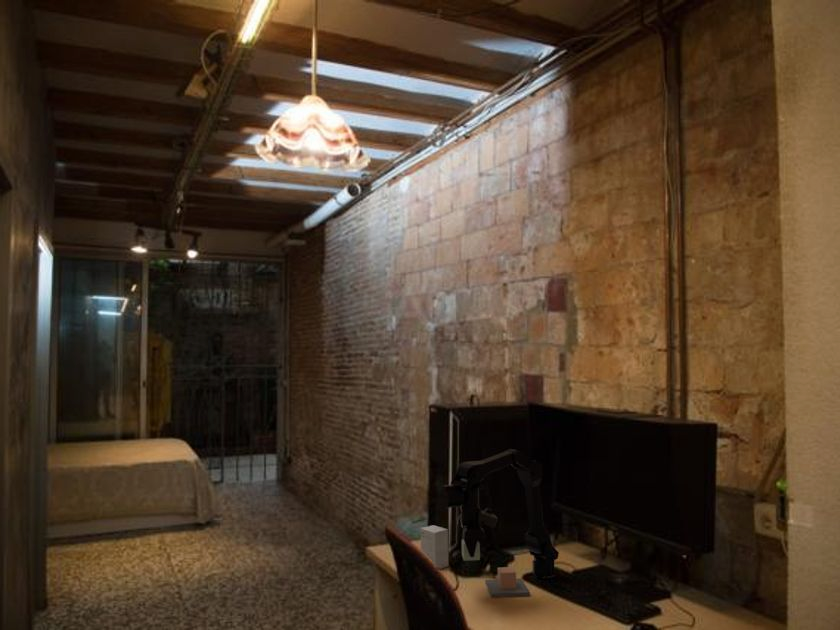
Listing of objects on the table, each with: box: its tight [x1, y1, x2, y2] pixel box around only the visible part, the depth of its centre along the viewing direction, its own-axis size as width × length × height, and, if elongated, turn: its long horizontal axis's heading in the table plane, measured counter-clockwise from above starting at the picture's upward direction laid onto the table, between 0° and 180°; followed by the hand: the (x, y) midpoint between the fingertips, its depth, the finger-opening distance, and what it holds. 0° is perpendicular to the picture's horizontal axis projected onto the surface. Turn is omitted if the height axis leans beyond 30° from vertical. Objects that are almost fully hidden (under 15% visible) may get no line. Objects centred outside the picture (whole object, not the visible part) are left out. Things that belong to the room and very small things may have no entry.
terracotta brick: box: [497, 566, 517, 589], centre depth 207 cm, size 5×5×5 cm
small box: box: [420, 524, 449, 570], centre depth 231 cm, size 8×6×13 cm
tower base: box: [484, 577, 531, 599], centre depth 207 cm, size 12×12×1 cm
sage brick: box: [461, 538, 481, 562], centre depth 203 cm, size 5×5×5 cm
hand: (470, 554), depth 203 cm, fingers closed on sage brick, 5 cm apart
